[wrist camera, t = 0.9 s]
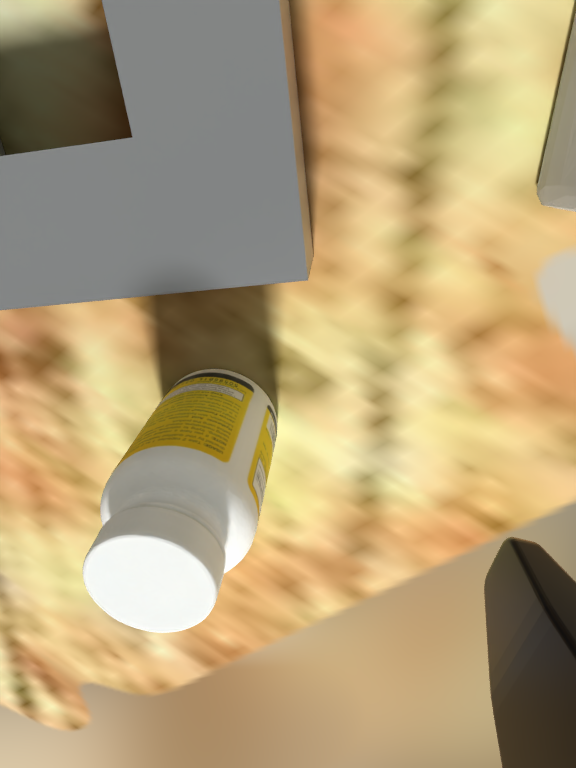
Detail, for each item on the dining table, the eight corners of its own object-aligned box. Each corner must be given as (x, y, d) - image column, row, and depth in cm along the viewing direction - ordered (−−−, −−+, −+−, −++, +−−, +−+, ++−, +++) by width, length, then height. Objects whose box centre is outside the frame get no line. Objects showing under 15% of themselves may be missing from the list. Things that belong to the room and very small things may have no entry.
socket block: (-53, 293, 22) (-131, 323, 18) (-266, -225, 15) (-457, -342, 11) (313, 256, 20) (307, 280, 16) (253, -367, 13) (221, -566, 9)
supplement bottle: (140, 405, 23) (18, 562, 14) (228, 342, 21) (152, 478, 13) (214, 485, 25) (146, 670, 16) (302, 433, 23) (280, 609, 14)
